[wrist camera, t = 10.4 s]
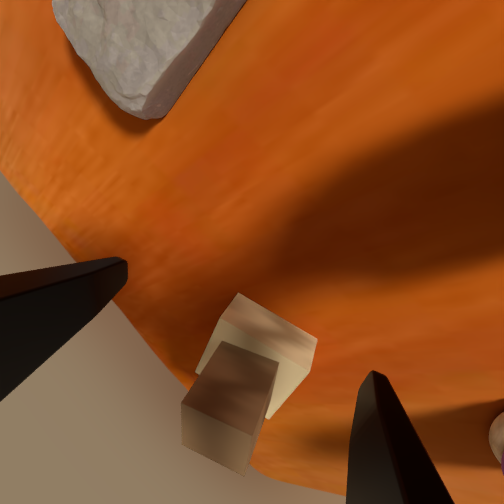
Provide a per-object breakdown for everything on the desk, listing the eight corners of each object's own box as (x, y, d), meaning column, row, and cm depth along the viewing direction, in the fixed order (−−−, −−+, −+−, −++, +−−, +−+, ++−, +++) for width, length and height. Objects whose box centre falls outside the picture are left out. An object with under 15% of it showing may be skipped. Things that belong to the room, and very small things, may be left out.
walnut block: (279, 362, 22) (252, 436, 17) (270, 401, 25) (244, 476, 19) (221, 340, 23) (181, 402, 18) (218, 379, 26) (181, 444, 21)
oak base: (318, 336, 25) (309, 371, 21) (280, 384, 29) (268, 419, 26) (239, 290, 26) (219, 317, 22) (214, 342, 30) (194, 372, 27)
